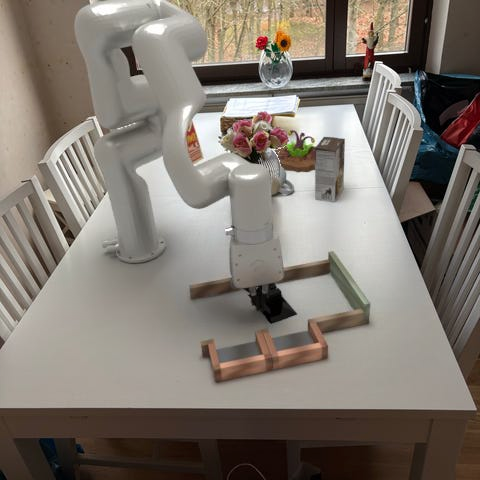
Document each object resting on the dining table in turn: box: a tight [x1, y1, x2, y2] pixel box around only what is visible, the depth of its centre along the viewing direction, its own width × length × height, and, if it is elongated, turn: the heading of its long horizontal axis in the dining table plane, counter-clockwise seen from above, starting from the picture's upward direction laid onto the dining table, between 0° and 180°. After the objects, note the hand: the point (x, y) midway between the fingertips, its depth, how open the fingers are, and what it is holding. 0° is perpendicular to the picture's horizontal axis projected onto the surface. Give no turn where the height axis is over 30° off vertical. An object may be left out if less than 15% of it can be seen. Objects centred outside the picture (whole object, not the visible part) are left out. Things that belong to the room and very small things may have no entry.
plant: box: [273, 129, 317, 173], centre depth 167 cm, size 20×20×11 cm
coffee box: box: [314, 136, 346, 203], centre depth 142 cm, size 9×6×16 cm
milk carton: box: [186, 120, 204, 165], centre depth 172 cm, size 9×9×20 cm
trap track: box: [188, 250, 371, 383], centre depth 99 cm, size 33×26×5 cm
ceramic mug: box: [271, 166, 295, 196], centre depth 148 cm, size 11×8×8 cm
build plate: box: [247, 283, 298, 325], centre depth 103 cm, size 12×7×5 cm, turn 24°
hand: (258, 306), depth 102 cm, fingers closed
